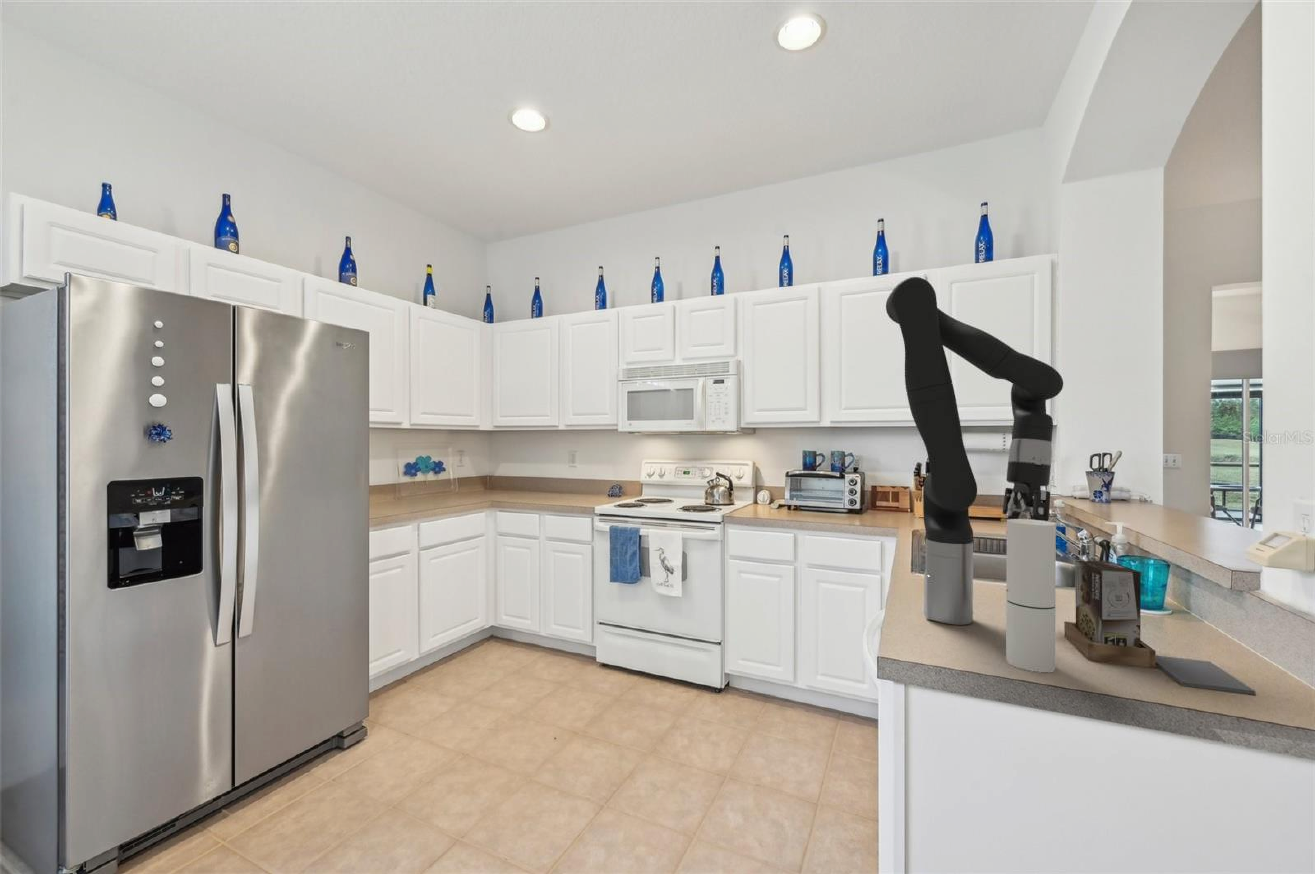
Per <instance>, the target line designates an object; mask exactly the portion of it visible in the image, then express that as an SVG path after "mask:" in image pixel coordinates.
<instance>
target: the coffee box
mask: <svg viewBox="0 0 1315 874" xmlns="http://www.w3.org/2000/svg"><path fill="white" fill-rule="evenodd" d="M1074 563H1075V564H1074V565H1075V568H1074V569H1075V570H1074V573H1075V575H1074V576H1075V578H1074V579H1075V581H1074V582H1075V584H1074V585H1075V587H1074V588H1075V589H1074V590H1075V593H1074V594H1075V622H1076V628H1077V629H1078V630H1079V631H1080V632H1081V633H1082V634H1083V635H1084V636H1085V637H1086V638H1088V639H1089V640H1090V641H1091V642H1092V643H1101V644H1110V645H1119V646H1128V647H1137V648H1140V640H1141V610H1142V609H1141V605H1142V604H1141V602H1142V601H1141V600H1142V599H1141V597H1142V593H1141V592H1142V591H1141V589H1142V587H1141V585H1142V581H1141V580H1142V579H1141V578H1142V572H1141V571H1139V570H1136V569H1135V568H1134V569H1133V568H1130V567H1127V566H1125V565H1122V564H1118V563H1116V562H1113V561H1106V560H1075V562H1074Z"/></svg>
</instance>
